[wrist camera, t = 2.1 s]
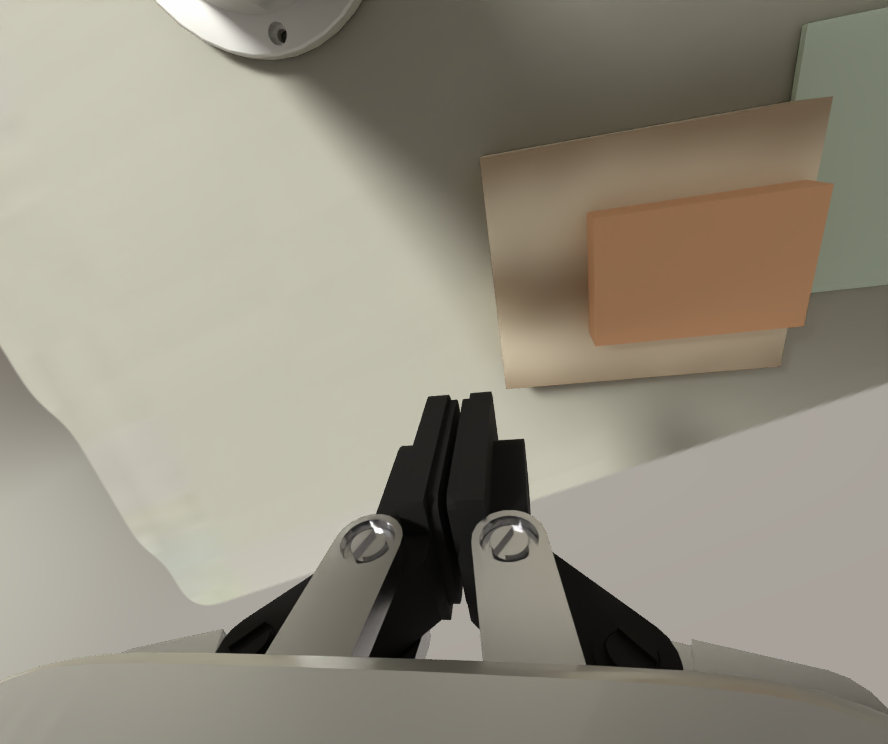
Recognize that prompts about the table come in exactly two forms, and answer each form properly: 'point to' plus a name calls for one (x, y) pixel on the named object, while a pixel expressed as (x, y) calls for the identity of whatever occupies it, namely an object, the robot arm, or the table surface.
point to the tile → (705, 263)
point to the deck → (613, 186)
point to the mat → (850, 143)
